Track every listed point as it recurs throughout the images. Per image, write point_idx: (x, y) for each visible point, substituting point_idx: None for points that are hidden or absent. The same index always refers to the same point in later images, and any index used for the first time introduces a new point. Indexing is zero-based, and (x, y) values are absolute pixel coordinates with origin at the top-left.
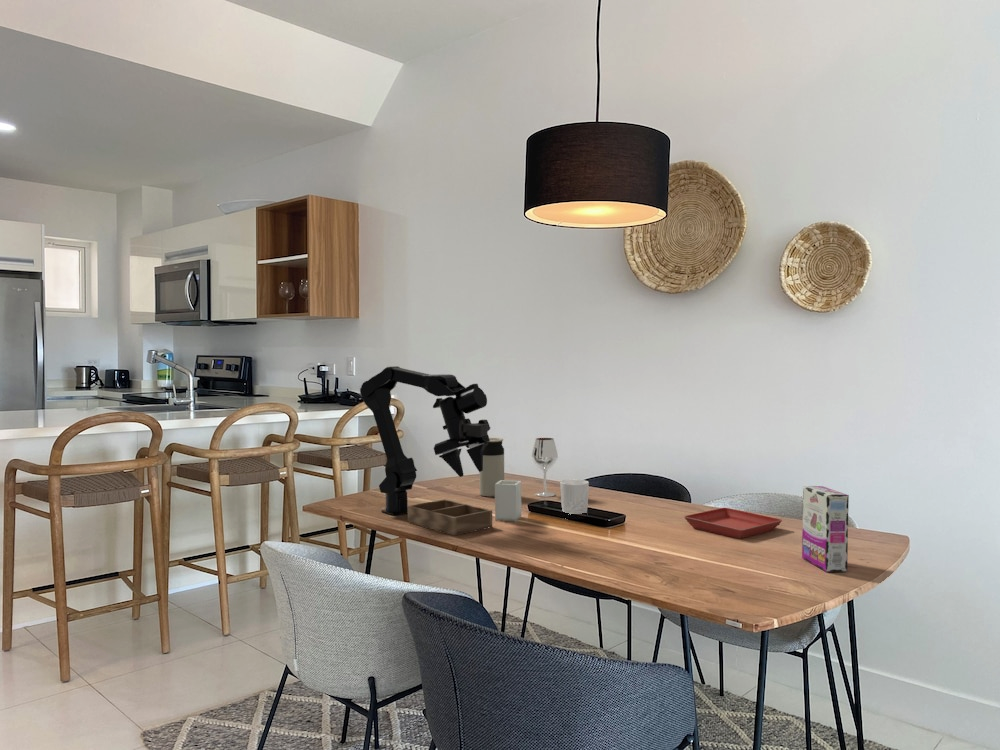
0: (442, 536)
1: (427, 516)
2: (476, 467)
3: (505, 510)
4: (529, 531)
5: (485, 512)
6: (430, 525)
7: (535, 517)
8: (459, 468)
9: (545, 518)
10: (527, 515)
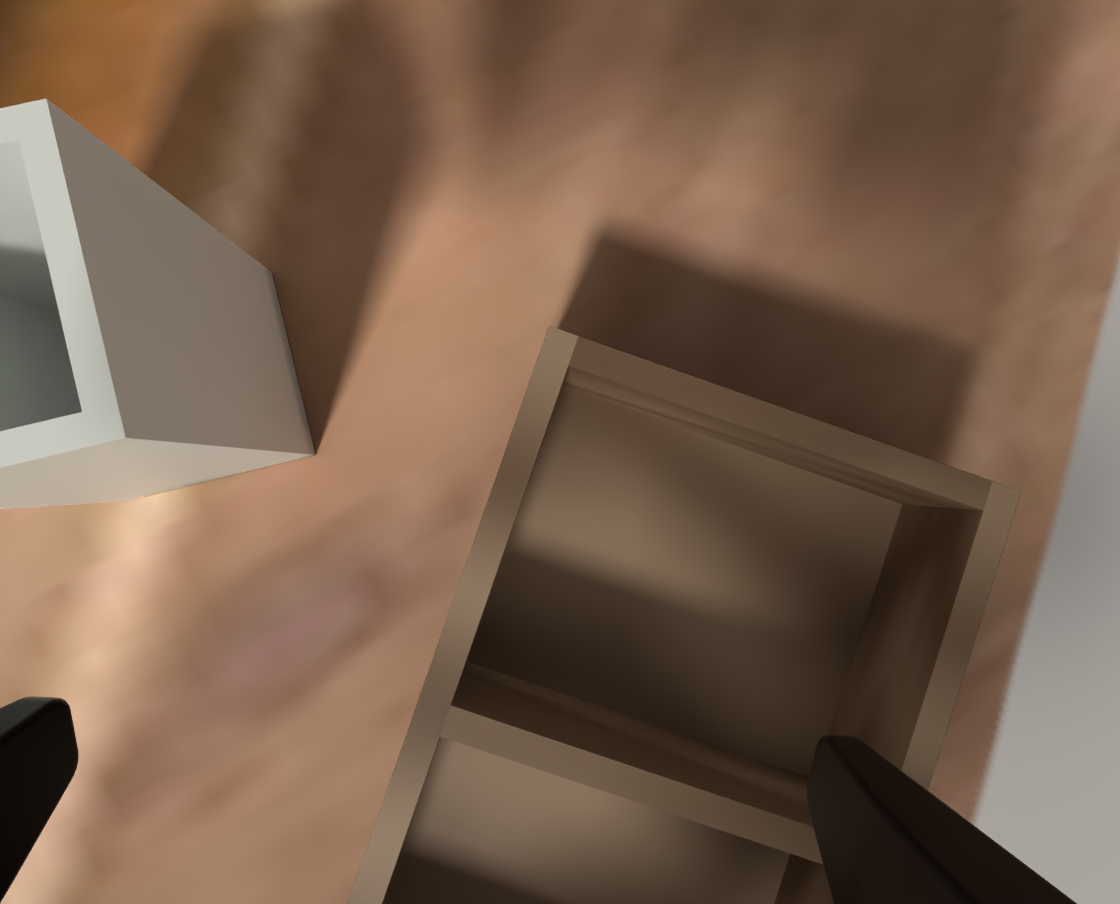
0: None
1: None
2: (2, 895)
3: (255, 348)
4: (532, 31)
5: (635, 357)
6: None
7: None
8: (1021, 886)
9: (53, 98)
10: None
